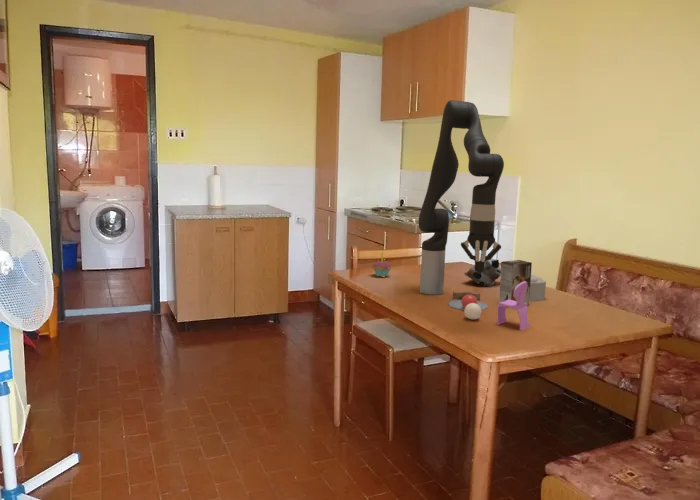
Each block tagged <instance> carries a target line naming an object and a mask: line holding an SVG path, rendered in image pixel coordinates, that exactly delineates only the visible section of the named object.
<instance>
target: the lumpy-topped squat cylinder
mask: <svg viewBox="0 0 700 500" xmlns="http://www.w3.org/2000/svg"><path fill="white" fill-rule="evenodd" d="M546 284H547V281H546V280H545V279H543V278H541V277H540V276H538V275H535V274H531V282H530V297H529V302H538V301H539V302H540V301H544V300H545V298H546Z"/></svg>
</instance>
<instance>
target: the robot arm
mask: <svg viewBox="0 0 700 500" xmlns="http://www.w3.org/2000/svg"><path fill="white" fill-rule="evenodd" d="M479 114H480V113H479V111H478V107H477V106H476V104H475V103H474V102H471V101H464V100H463V101H462V100H448V101H447V102H446V104H445V106H444V109H443V112H442V117H441V118H442V120H441V124H440V131H439V137H438V143H437V147H436V151H435V155H434V160H433V163H432V166H431V171H430V177H429V182H428V186H427V189H426V192H425V193H426V194H425V197H424V199H423V202H422V206H421V208H420V211H419V212H420V213H419V215H418V227H419V230H420V231H421V232H422V233H433V235H432V236H431V237H430V238H428V239H426V240H424V241H422V243H421V258H420V259H421V261H420V280H419V294H425V295H442V294H443V293H444V287H445V286H444V283H445V281H444V280H445V264H446V246H447V245H448V244H447V243H448V236H449V235H448V234H449V227H450V217H449V213H448V211H447V209H445V208H437V207H436V206H437V204H438V202H439V201H440V199H441V198H442V197H443V196H444V195H445V194H446V192H448V190H450V188H451V187H452V186H453V184H454V183H455V181H456V178H457V174H458V169H459V159H458V156H457V154H456V151H455V148H454V144H453V142H452V132H453V131H452V130H453V129H463V130H465V129H467V131H466V132H465V135H464V137H463V146H464V148H465V151H466V153H467V157H468V167H467V169H468V172H469V174H470V175H472V176H474V177H479V178H480V177H482V178H483V177H484V178H485V177H486V178H487V177H488V178H487V180H486V181H485V182H484V183H480V184H476V185H474V186H473V188H472V193H471V194H472V197H471V198H472V199H471V206H470V207H471V208H470V214H469V232H468V236H467V238H466V240H465V241H463V242H461V243H460V246H461V248H462V250H463V251H464V252H465V254H467V256H468V257H469V259H470V260H472V261H474V266H475V268H474V269H475V271H476V272H477V273H482V272H483V271H484V262H485V261H487V260H490V259H493V258H494V256H495V255H496V254H497V253H498V252H499V251H500V250H501V249H502V245H501V244H500V243H498V242H497V241H496V238H495V226H496V225H495V224H496V223H495V222H496V195H497V190H498V189H497V188H498V185H499V182H500V180H501V176H502V173H503V171H504V167H505V162H504V159H503V157H502V156H501V155H500V154H499V153H491V148H490V145H489V143H488V141H487V139H486V137H485V135H484V132H483V128H482V124H481V119H480V118H481V117H480V115H479ZM469 245H470V246H471V247H472V249H473V251H474V254H473V252H471V251H470V249H469V247H470V246H469ZM491 247H492V249H491V251H490V252H489V253H487V251H488V250H489V249H490V248H491Z"/></svg>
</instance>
